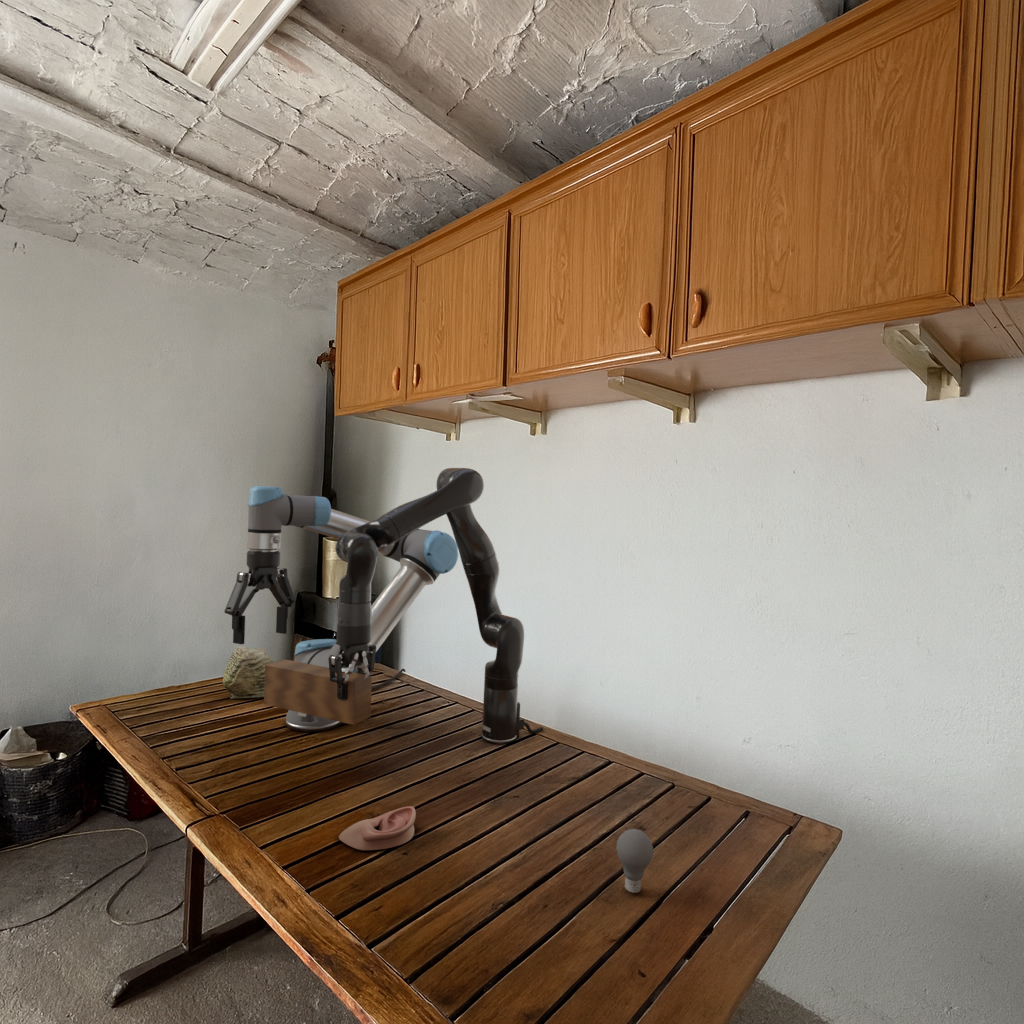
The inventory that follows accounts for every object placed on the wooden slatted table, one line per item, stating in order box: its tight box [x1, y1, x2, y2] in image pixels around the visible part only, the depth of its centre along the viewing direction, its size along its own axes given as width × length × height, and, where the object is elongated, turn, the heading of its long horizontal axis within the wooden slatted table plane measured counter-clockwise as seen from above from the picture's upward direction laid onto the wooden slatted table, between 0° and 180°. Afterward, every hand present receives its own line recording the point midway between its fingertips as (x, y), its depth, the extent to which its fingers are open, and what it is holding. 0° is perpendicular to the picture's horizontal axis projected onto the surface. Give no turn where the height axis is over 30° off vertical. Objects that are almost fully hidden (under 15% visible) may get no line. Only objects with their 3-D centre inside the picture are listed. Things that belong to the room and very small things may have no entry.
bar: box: [263, 658, 373, 726], centre depth 147 cm, size 26×6×10 cm, turn 65°
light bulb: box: [615, 828, 654, 894], centre depth 106 cm, size 6×6×10 cm
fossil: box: [222, 646, 275, 699], centre depth 198 cm, size 9×18×15 cm, turn 132°
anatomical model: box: [338, 805, 417, 851], centre depth 119 cm, size 13×4×12 cm
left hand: (260, 638), depth 153 cm, fingers open, 13 cm apart
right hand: (352, 695), depth 142 cm, fingers closed on bar, 6 cm apart
